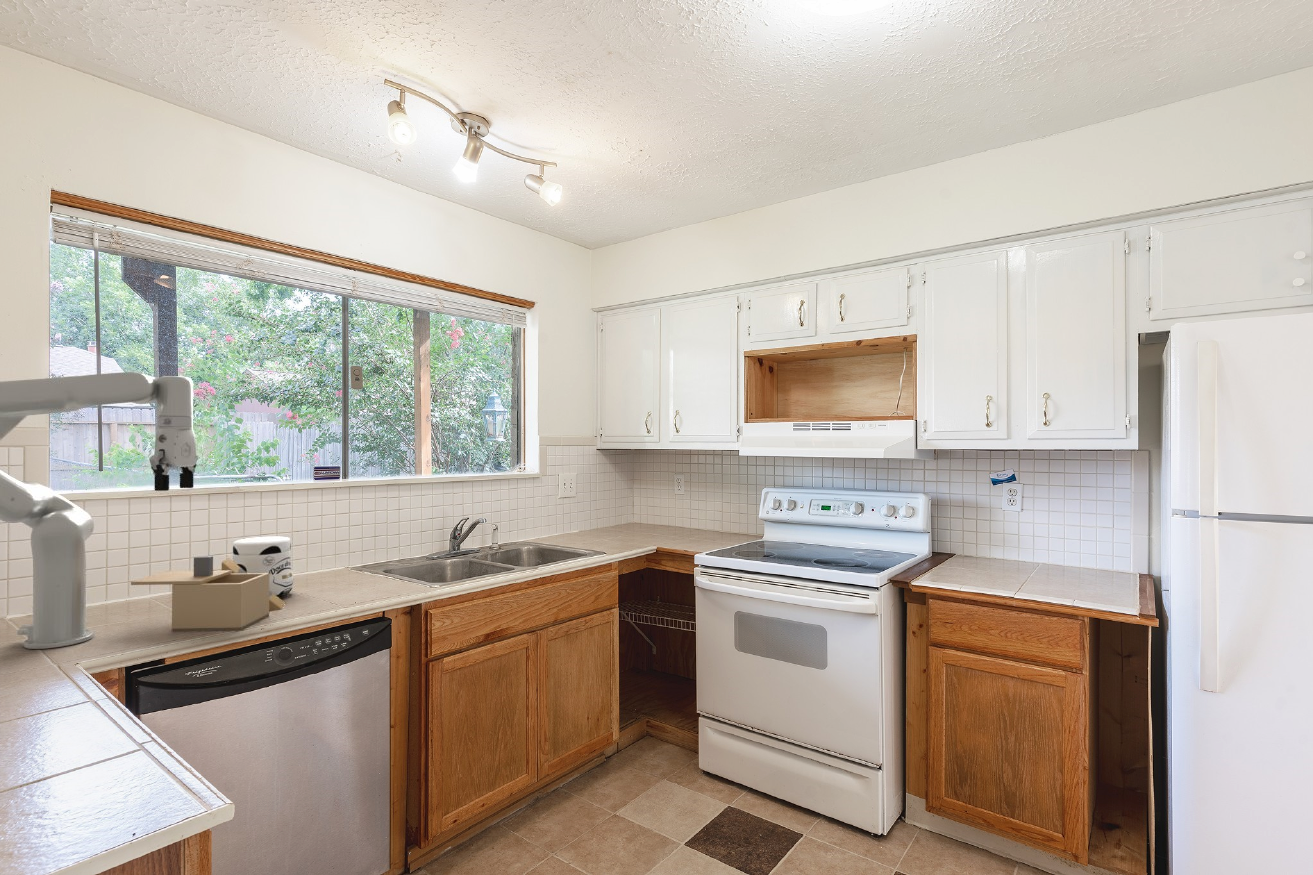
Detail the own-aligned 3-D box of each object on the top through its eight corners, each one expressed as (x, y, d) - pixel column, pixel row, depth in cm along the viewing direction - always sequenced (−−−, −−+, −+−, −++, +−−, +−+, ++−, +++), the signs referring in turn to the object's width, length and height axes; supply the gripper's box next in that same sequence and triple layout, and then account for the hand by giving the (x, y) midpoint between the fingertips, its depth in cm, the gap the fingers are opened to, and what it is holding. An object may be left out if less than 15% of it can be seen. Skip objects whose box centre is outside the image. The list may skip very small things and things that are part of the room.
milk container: (296, 599, 202) (296, 541, 203) (229, 607, 193) (230, 546, 193) (290, 588, 217) (291, 534, 217) (228, 595, 207) (228, 538, 207)
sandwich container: (283, 609, 190) (283, 558, 190) (220, 615, 184) (221, 562, 184) (286, 603, 198) (287, 553, 198) (227, 608, 192) (227, 557, 192)
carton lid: (130, 584, 167) (131, 562, 167) (167, 573, 181) (167, 552, 181) (200, 584, 168) (200, 561, 168) (231, 573, 182) (232, 552, 182)
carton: (171, 631, 168) (172, 584, 168) (205, 617, 182) (205, 573, 182) (241, 630, 169) (241, 583, 169) (269, 616, 183) (269, 573, 183)
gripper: (168, 422, 162) (167, 491, 162) (210, 424, 180) (209, 487, 180) (136, 422, 162) (135, 491, 162) (181, 424, 179) (180, 487, 179)
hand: (174, 489), depth 171 cm, fingers open, 9 cm apart
